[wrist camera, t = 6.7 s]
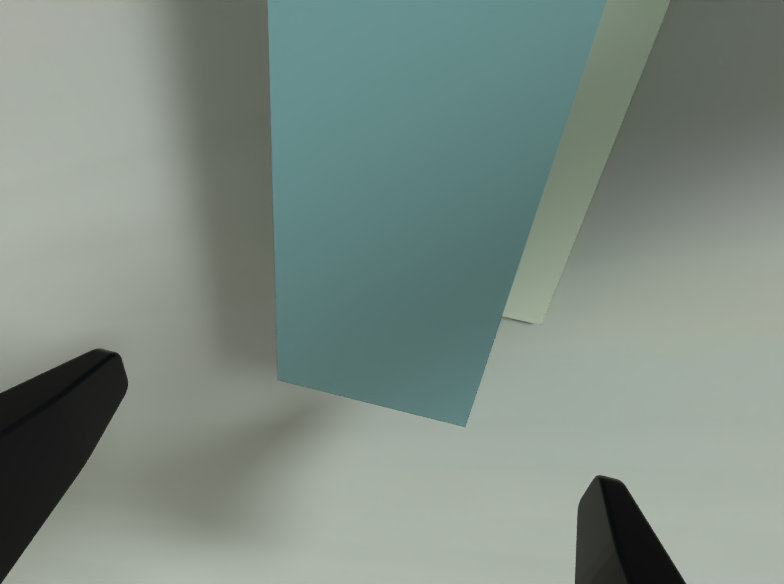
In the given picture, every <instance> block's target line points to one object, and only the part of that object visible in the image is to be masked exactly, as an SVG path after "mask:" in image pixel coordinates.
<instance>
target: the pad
mask: <svg viewBox="0 0 784 584" xmlns="http://www.w3.org/2000/svg"><path fill="white" fill-rule="evenodd" d="M670 2H671V0H607V1H606V4H605V7H604V10H603V13H602V16H601V19H600V22H599V25H598V28H597V31H596V34H595V37H594V40H593V43H592V46H591V49H590V52H589V55H588V58H587V61H586V64H585V67H584V70H583V73H582V76H581V79H580V82H579V85H578V88H577V91H576V94H575V97H574V100H573V103H572V106H571V109H570V112H569V115H568V118H567V121H566V124H565V127H564V131H563V134H562V137H561V140H560V143H559V146H558V149H557V152H556V155H555V158H554V161H553V164H552V167H551V170H550V173H549V176H548V179H547V182H546V185H545V188H544V191H543V194H542V197H541V200H540V203H539V206H538V209H537V212H536V215H535V218H534V221H533V224H532V227H531V230H530V233H529V236H528V239H527V242H526V245H525V248H524V251H523V254H522V257H521V260H520V263H519V266H518V269H517V272H516V275H515V278H514V281H513V285H512V288H511V291H510V294H509V297H508V300H507V303H506V306H505V309H504V312H503V315H502V316H503V317H508V318H512V319H516V320H521V321H525V322H529V323H534V324H538V325H542V322H543V320H544V317H545V315H546V312H547V310H548V307H549V305H550V302H551V300H552V297H553V295H554V292H555V290H556V287H557V285H558V282H559V280H560V277H561V275H562V272H563V270H564V267H565V265H566V262H567V260H568V257H569V255H570V252H571V250H572V247H573V245H574V242H575V240H576V237H577V235H578V232H579V230H580V227H581V225H582V222H583V220H584V217H585V215H586V212H587V209H588V207H589V204H590V202H591V199H592V197H593V194H594V192H595V189H596V187H597V184H598V182H599V179H600V177H601V174H602V172H603V169H604V167H605V164H606V162H607V159H608V157H609V154H610V152H611V149H612V147H613V144H614V142H615V139H616V137H617V134H618V132H619V129H620V127H621V124H622V122H623V119H624V117H625V114H626V112H627V109H628V107H629V104H630V102H631V99H632V97H633V94H634V92H635V89H636V87H637V84H638V82H639V79H640V77H641V74H642V72H643V69H644V67H645V64H646V62H647V59H648V57H649V54H650V52H651V49H652V47H653V44H654V42H655V39H656V37H657V34H658V32H659V29H660V27H661V24H662V22H663V19H664V17H665V14H666V12H667V9H668V7H669V4H670Z"/></svg>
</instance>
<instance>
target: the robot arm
mask: <svg viewBox="0 0 784 584" xmlns="http://www.w3.org/2000/svg"><path fill="white" fill-rule="evenodd" d="M127 388H128V379H127V375H126V372H125V369H124V365H123V362H122V358H121V356H120V355H119V354H118V353H116V352H113V351H109V350H105V349H94V350H91V351H89V352H87V353H85V354H83V355H81V356H79V357H76V358H74V359H72V360H70V361H68V362H66V363H64V364H62V365H59V366H57V367H55V368H53V369H51V370H49V371H47V372H44V373H42V374H40V375H38V376H36V377H34V378H32V379H30V380H27V381H25V382H23V383H21V384H19V385H17V386H15V387H12V388H10V389H8V390H6V391H4V392H2V393H0V584H1V583H2V582H3V580H4V579H5V577H6V576H7V574H8V573H9V572H10V570H11V569H12V567H13V566H14V565H15V563H16V562H17V560H18V559H19V558H20V556H21V555H22V553H23V552H24V550H25V549H26V548H27V546H28V545H29V543H30V542H31V541H32V539H33V538H34V536H35V535H36V534H37V532H38V531H39V529H40V528H41V526H42V525H43V524H44V522H45V521H46V519H47V518H48V517H49V515H50V514H51V512H52V511H53V509H54V508H55V507H56V505H57V504H58V502H59V501H60V500H61V498H62V497H63V495H64V494H65V493H66V491H67V490H68V488H69V487H70V485H71V484H72V483H73V481H74V480H75V478H76V477H77V476H78V474H79V473H80V471H81V470H82V468H83V467H84V465H85V464H86V462H87V460H88V459H89V457H90V456H91V454H92V452H93V450H94V449H95V447H96V445H97V443H98V442H99V440H100V438H101V436H102V435H103V433H104V431H105V429H106V428H107V426H108V424H109V422H110V420H111V419H112V417H113V415H114V413H115V412H116V410H117V408H118V406H119V405H120V403H121V401H122V399H123V398H124V396H125V394H126V391H127ZM575 584H686V583H685V581H684V579H683V578H682V576H681V575H680V573H679V571H678V570H677V568H676V566H675V565H674V563H673V562H672V560H671V558H670V557H669V555H668V554H667V552H666V550H665V549H664V547H663V546H662V544H661V542H660V541H659V539H658V537H657V536H656V534H655V533H654V531H653V529H652V528H651V526H650V525H649V523H648V521H647V520H646V518H645V517H644V515H643V513H642V512H641V510H640V508H639V507H638V505H637V504H636V502H635V500H634V499H633V497H632V496H631V494H630V492H629V491H628V489H627V488H626V486H625V485H624V484H623V483H622V482H621V481H620V480H618V479H614V478H610V477H606V476H602V475H598V476H596V477H595V478H594V479H593V481H592V482H591V484H590V485H589V487H588V488H587V490H586V492H585V493H584V495H583V496H582V498H581V500H580V502H579V506H578V516H577V542H576V568H575Z"/></svg>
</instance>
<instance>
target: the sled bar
mask: <svg viewBox="0 0 784 584" xmlns="http://www.w3.org/2000/svg"><path fill="white" fill-rule="evenodd" d="M606 1H607V0H267V3H268V40H269V77H270V114H271V151H272V188H273V225H274V261H275V298H276V335H277V372H278V380H280V381H284V382H288V383H291V384H295V385H299V386H303V387H307V388H311V389H315V390H319V391H323V392H327V393H331V394H335V395H339V396H343V397H347V398H351V399H355V400H359V401H363V402H367V403H371V404H375V405H379V406H383V407H387V408H391V409H395V410H399V411H403V412H407V413H411V414H415V415H419V416H423V417H427V418H431V419H435V420H439V421H443V422H447V423H451V424H455V425H459V426H463V427H465V426H466V423H467V420H468V417H469V414H470V411H471V408H472V405H473V402H474V399H475V396H476V393H477V390H478V387H479V384H480V381H481V378H482V375H483V372H484V369H485V366H486V363H487V360H488V357H489V354H490V351H491V348H492V345H493V342H494V339H495V336H496V333H497V330H498V327H499V324H500V321H501V318H502V315H503V312H504V309H505V306H506V303H507V300H508V297H509V294H510V291H511V288H512V285H513V281H514V278H515V275H516V272H517V269H518V266H519V263H520V260H521V257H522V254H523V251H524V248H525V245H526V242H527V239H528V236H529V233H530V230H531V227H532V224H533V221H534V218H535V215H536V212H537V209H538V206H539V203H540V200H541V197H542V194H543V191H544V188H545V185H546V182H547V179H548V176H549V173H550V170H551V167H552V164H553V161H554V158H555V155H556V152H557V149H558V146H559V143H560V140H561V137H562V134H563V131H564V127H565V124H566V121H567V118H568V115H569V112H570V109H571V106H572V103H573V100H574V97H575V94H576V91H577V88H578V85H579V82H580V79H581V76H582V73H583V70H584V67H585V64H586V61H587V58H588V55H589V52H590V49H591V46H592V43H593V40H594V37H595V34H596V31H597V28H598V25H599V22H600V19H601V16H602V13H603V10H604V7H605V4H606Z"/></svg>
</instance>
